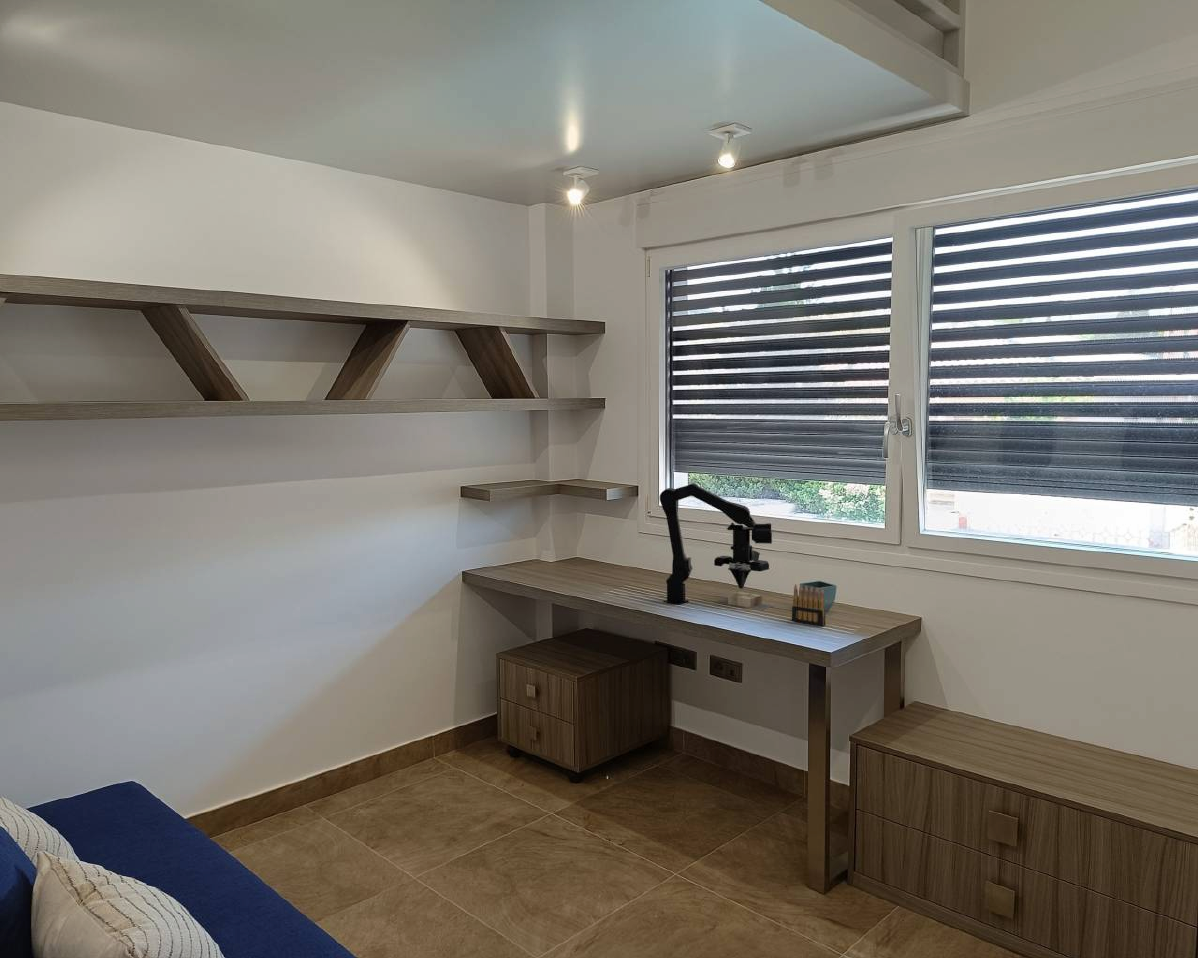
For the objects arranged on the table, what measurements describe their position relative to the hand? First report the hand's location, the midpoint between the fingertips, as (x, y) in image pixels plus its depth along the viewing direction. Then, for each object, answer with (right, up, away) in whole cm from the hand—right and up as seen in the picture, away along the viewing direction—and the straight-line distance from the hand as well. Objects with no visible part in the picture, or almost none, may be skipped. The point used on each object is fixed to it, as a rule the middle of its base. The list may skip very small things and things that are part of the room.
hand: (741, 588), depth 312 cm
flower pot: (+24, -7, -10) cm, 27 cm away
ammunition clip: (+17, -8, -27) cm, 32 cm away
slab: (-2, -4, +2) cm, 5 cm away
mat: (+1, -6, -1) cm, 6 cm away
